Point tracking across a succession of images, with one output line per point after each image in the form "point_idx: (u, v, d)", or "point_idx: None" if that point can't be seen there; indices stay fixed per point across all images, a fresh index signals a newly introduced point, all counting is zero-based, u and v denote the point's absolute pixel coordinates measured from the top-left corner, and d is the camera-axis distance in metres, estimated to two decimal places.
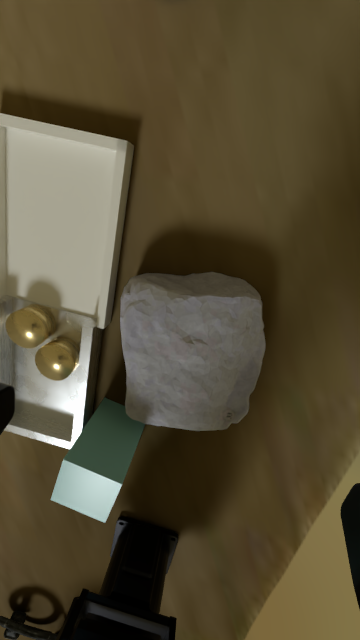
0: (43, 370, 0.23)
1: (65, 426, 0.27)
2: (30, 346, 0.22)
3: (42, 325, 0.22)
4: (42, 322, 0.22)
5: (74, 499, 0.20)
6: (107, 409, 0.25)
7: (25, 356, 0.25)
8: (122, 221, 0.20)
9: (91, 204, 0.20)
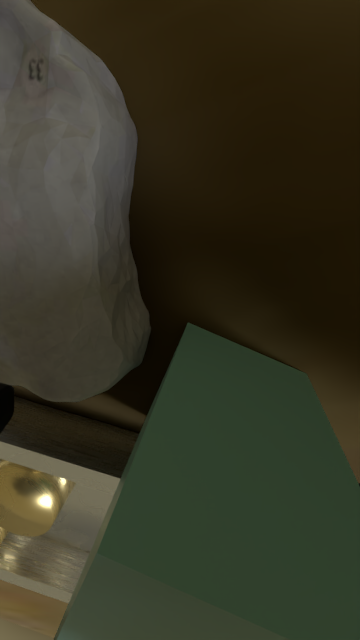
0: (35, 527, 0.11)
1: None
2: None
3: None
4: None
5: None
6: (144, 421, 0.10)
7: (68, 530, 0.13)
8: None
9: None
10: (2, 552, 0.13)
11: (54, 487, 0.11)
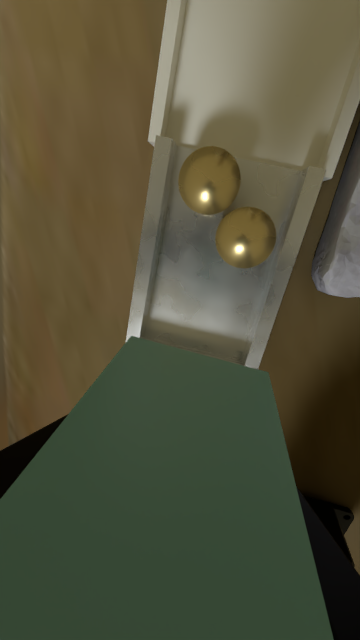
0: (226, 251, 0.15)
1: (220, 355, 0.19)
2: (213, 210, 0.14)
3: (239, 171, 0.14)
4: None
5: None
6: None
7: (178, 246, 0.17)
8: None
9: None
10: (164, 196, 0.15)
11: None
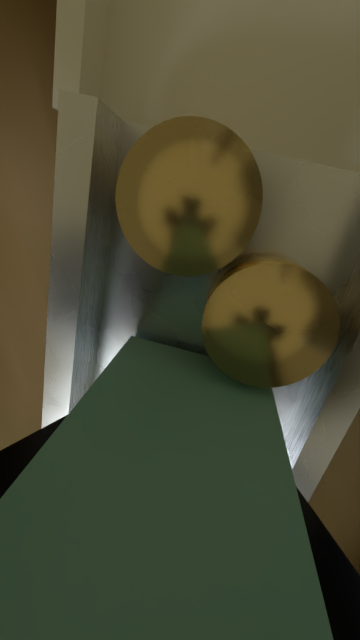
0: (225, 352, 0.07)
1: None
2: (197, 268, 0.06)
3: (260, 180, 0.06)
4: None
5: None
6: None
7: (134, 318, 0.09)
8: None
9: None
10: (95, 230, 0.07)
11: None
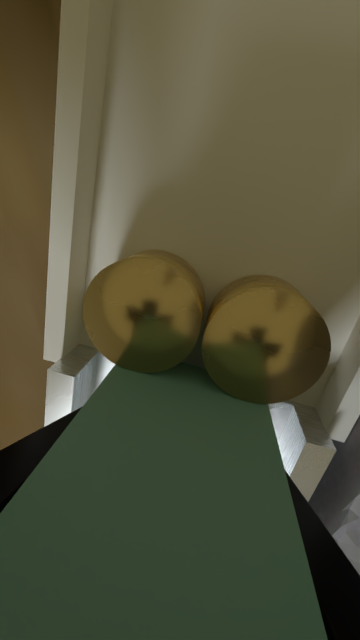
0: (225, 373, 0.07)
1: None
2: (160, 366, 0.08)
3: (195, 294, 0.07)
4: (191, 286, 0.07)
5: None
6: None
7: None
8: None
9: None
10: None
11: None
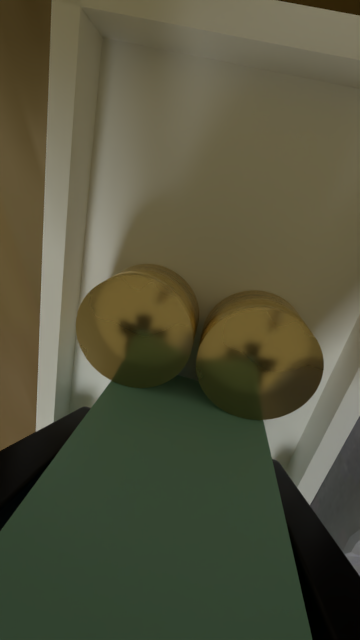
0: (219, 389, 0.07)
1: None
2: (154, 381, 0.08)
3: (187, 310, 0.07)
4: (183, 302, 0.07)
5: None
6: None
7: None
8: None
9: (318, 249, 0.08)
10: None
11: None
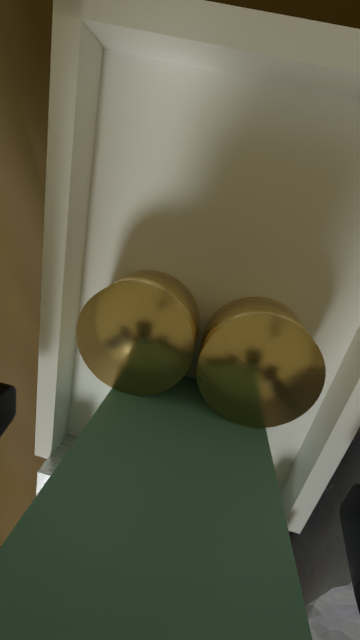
0: (220, 397, 0.07)
1: None
2: (154, 388, 0.08)
3: (187, 318, 0.07)
4: (184, 309, 0.07)
5: None
6: None
7: None
8: None
9: (318, 258, 0.08)
10: None
11: None
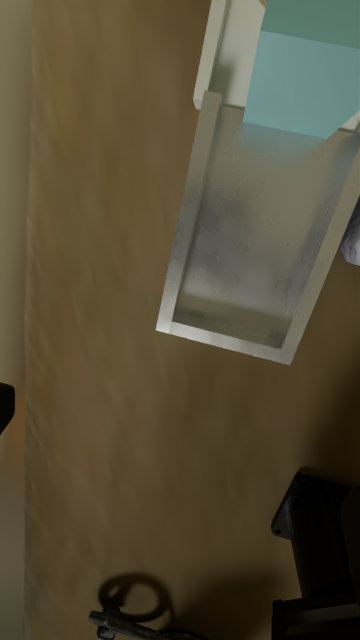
0: None
1: (255, 333, 0.18)
2: None
3: None
4: None
5: None
6: None
7: (217, 216, 0.16)
8: None
9: None
10: (208, 159, 0.14)
11: None
